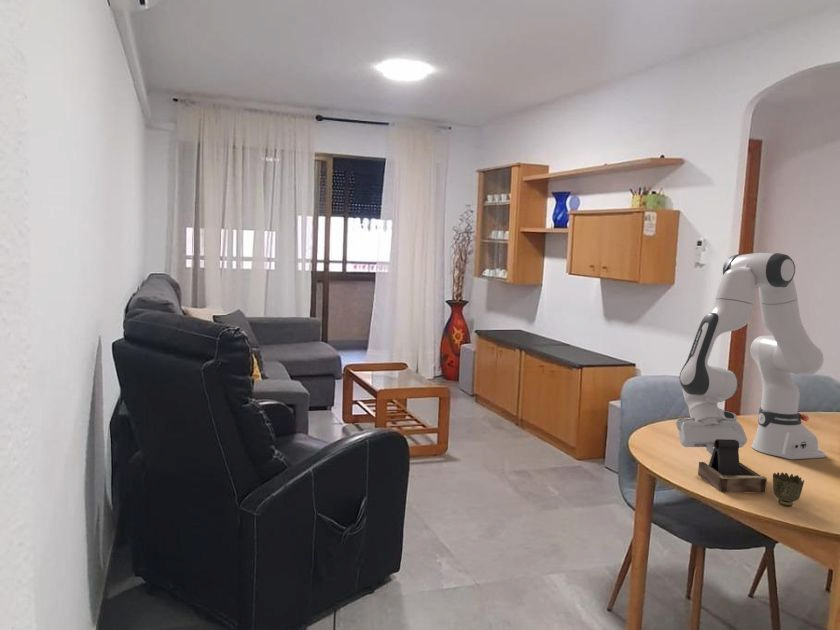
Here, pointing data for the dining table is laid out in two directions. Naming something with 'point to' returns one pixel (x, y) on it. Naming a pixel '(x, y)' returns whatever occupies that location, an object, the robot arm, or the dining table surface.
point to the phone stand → (726, 457)
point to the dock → (733, 479)
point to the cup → (787, 488)
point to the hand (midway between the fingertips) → (719, 459)
